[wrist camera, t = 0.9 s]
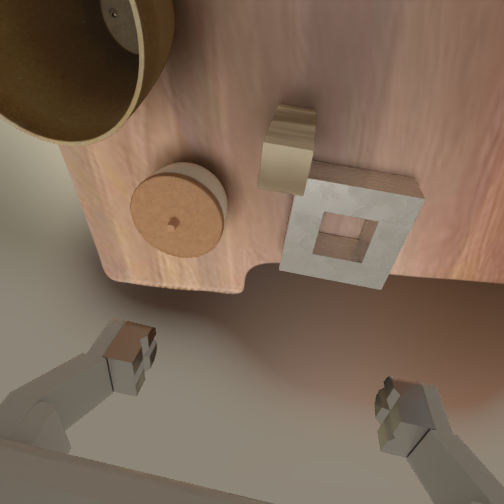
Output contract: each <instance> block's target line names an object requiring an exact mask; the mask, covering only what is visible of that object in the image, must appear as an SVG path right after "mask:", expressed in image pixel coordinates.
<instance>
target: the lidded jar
mask: <svg viewBox="0 0 504 504" xmlns="http://www.w3.org/2000/svg"><path fill="white" fill-rule="evenodd" d="M130 210H131V216H132V219H133V222H134V224H135V226H136V228H137V230H138V231H139V233H140V234H141V235H142V237H143V238H144V239H145V240H146V241H147V242H148V243H150V244H151V245H152V246H154V247H155V248H157V249H158V250H160V251H162V252H164V253H166V254H169V255H172V256H176V257H184V258H190V257H197V256H201V255H204V254H206V253H208V252H209V251H211V250H212V249H213V248H214V247H215V246H216V245H217V244H218V242H219V240H220V238H221V236H222V233H223V229H224V226H225V222H226V218H227V211H228V203H227V197H226V193H225V190H224V188H223V186H222V184H221V183H220V181H219V180H218V179H217V177H216V176H215V175H214V174H212V173H211V172H210V171H209V170H207V169H206V168H204V167H202V166H200V165H197V164H194V163H188V162H178V163H172V164H169V165H166V166H164V167H162V168H160V169H158V170H157V171H155V172H154V173H153V174H151V175H150V176H149V177H148V178H146V179H145V180H144V181H143V182H142V183H140V184H139V186H138V187H137V188H136V189H135V191H134V193H133V195H132V198H131V203H130Z"/></svg>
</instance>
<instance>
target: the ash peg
mask: <svg viewBox="0 0 504 504" xmlns="http://www.w3.org/2000/svg"><path fill="white" fill-rule="evenodd" d="M315 125H316V109H310V108H304V107H298V106H291V105H285V104H279V105H278V107H277V110H276V112H275V115H274V117H273V120H272V122H271V125H270V127H269V130H268V132H267V135H266V137H265V140H264V142H263V149H262V156H261V164H260V171H259V179H258V186H257V188H260V189H265V190H271V191H277V192H282V193H288V194H293V195H299V196H304V192H305V188H306V183H307V179H308V175H309V170H310V166H311V162H312V157H313V153H314V143H315Z"/></svg>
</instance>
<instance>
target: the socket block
mask: <svg viewBox="0 0 504 504" xmlns="http://www.w3.org/2000/svg"><path fill="white" fill-rule="evenodd" d="M424 201H425V197H424V195H423V193H422V191H421V189H420V187H419V185H418V183H417V181H416V179H415V178H412V177H406V176H400V175H394V174H389V173H383V172H377V171H371V170H366V169H360V168H354V167H348V166H342V165H337V164H331V163H325V162H319V161H313V160H312V162H311V166H310V170H309V175H308V179H307V183H306V188H305V192H304V196H299V195H293V200H292V205H291V209H290V214H289V219H288V224H287V228H286V233H285V238H284V243H283V248H282V254H281V260H280V266H279V270H281V271H287V272H292V273H297V274H302V275H307V276H312V277H317V278H322V279H328V280H333V281H338V282H344V283H348V284H354V285H358V286H364V287H369V288H374V289H379V290H381V289H382V287H383V285H384V283H385V281H386V279H387V277H388V275H389V273H390V271H391V269H392V267H393V265H394V262H395V260H396V258H397V256H398V254H399V252H400V250H401V248H402V246H403V244H404V242H405V240H406V238H407V236H408V234H409V232H410V230H411V228H412V226H413V224H414V221H415V219H416V217H417V215H418V213H419V211H420V209H421V207H422V205H423V203H424ZM324 212H329V213H335V214H340V215H346V216H351V217H357V218H362V219H366V221H365V224H364V226H363V229H362V232H361V234H360V237H359V239H353V238H347V237H342V236H336V235H331V234H326V233H320V232H318V231H319V228H320V224H321V221H322V217H323V214H324Z"/></svg>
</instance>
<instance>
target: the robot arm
mask: <svg viewBox="0 0 504 504" xmlns="http://www.w3.org/2000/svg"><path fill="white" fill-rule="evenodd" d="M155 336H156V328H155V327H151V326H147V325H143V324H138V323H134V322H130V321H125V320H121V319H117V318H113V319H112V320H111V321H109V323H108V324H107V326H106V327H105V328H104V330H103V331H102V333H101V334H100V335H99V337H98V338H97V340H96V341H95V343H94V344H93V345H92V347H91V348H90V350H89V351H88V352H87V354H84V353H82V354H80V355H78V356H76V357H74V358H73V359H71V360H69V361H67V362H66V363H63V364H62V365H60V366H58V367H56V368H54V369H52V370H51V371H49V372H47V373H45V374H43V375H41V376H40V377H38V378H36V379H34V380H32V381H30V382H29V383H27V384H25V385H23V386H21V387H20V388H18V389H16V390H14V391H12V392H10V393H9V395H8V396H7V397H6V398H5V400H4V401H3V402H2V403H1V404H0V504H273V503H268V502H265V501H261V500H256V499H252V498H248V497H244V496H240V495H236V494H231V493H227V492H223V491H219V490H215V489H211V488H207V487H202V486H198V485H194V484H190V483H186V482H181V481H178V480H174V479H169V478H165V477H161V476H157V475H153V474H148V473H144V472H140V471H136V470H132V469H127V468H124V467H119V466H115V465H111V464H107V463H103V462H99V461H94V460H90V459H86V458H82V457H78V456H73V455H70V454H68V453H69V451H70V449H71V446H70V443H69V440H68V438H67V436H66V433H65V430H67V429H68V428H69V427H70V426H72V425H73V424H74V423H75V422H77V421H78V420H79V419H81V418H82V417H83V416H84V415H86V414H87V413H88V412H89V411H91V410H92V409H93V408H95V407H96V406H97V405H98V404H100V403H101V402H102V401H103V400H105V399H106V398H107V397H109V396H110V395H111V394H112V393H113V392H118V393H123V394H128V395H133V396H137V395H138V393H139V391H140V389H141V387H142V385H143V383H144V381H145V373H144V372H146V371H147V370H149V369H150V368H151V366H152V364H153V362H154V359H155V356H156V352H157V342H156V341H155V340H154V337H155ZM375 416H376V419H377V420H378V422H379V423H380V424H381V426H380V428H379V429H378V438H379V444H380V451H382V452H386V453H390V454H394V455H398V456H402V457H406V458H407V461H408V462H409V464H410V466H411V467H412V469H413V470H414V472H415V474H416V475H417V477H418V479H419V480H420V482H421V483H422V485H423V486H424V488H425V490H426V491H427V493H428V494H429V496H430V498H431V499H432V501H433V503H434V504H504V487H503V486H502V484H501V483H500V482H499V481H498V480H497V479H496V478H495V477H494V475H493V474H492V473H491V472H490V471H489V470H488V469H487V468H486V467H485V465H484V464H483V463H482V462H481V461H480V460H479V459H478V458H477V456H476V455H475V454H474V453H473V452H472V451H471V450H470V449H469V447H468V446H467V445H466V444H465V443H464V442H463V441H462V440H461V439H460V437H458V435H454V434H453V433H452V430H451V427H450V424H449V421H448V418H447V415H446V412H445V409H444V406H443V403H442V400H441V397H440V394H439V391H438V389H437V387H436V386H433V385H430V384H425V383H419V382H417V381H412V380H406V379H401V378H396V377H391V376H388V377H387V378H386V379H385V381H384V388H383V389H380V390H379V391H378V394H377V395H376V399H375Z"/></svg>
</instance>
